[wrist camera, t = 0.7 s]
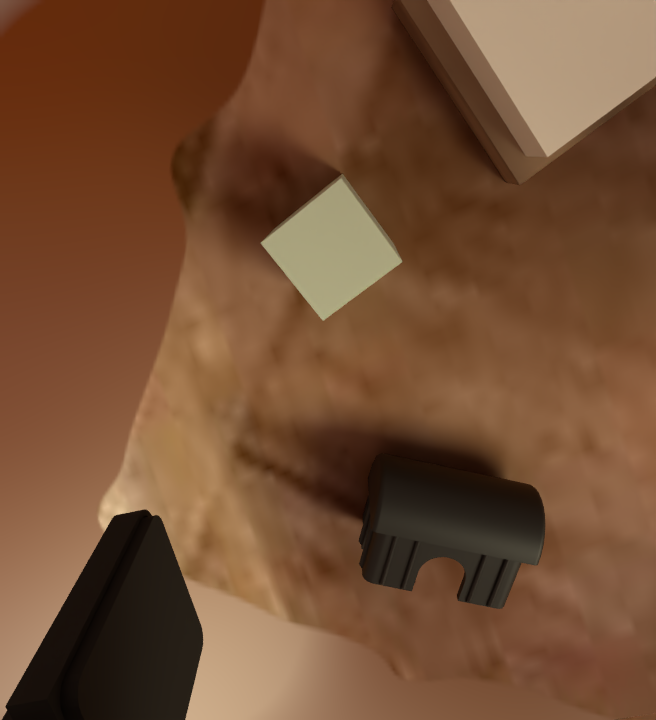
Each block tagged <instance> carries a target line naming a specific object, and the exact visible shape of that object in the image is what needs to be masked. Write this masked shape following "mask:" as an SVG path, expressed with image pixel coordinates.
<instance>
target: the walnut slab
mask: <svg viewBox="0 0 656 720" xmlns="http://www.w3.org/2000/svg"><path fill="white" fill-rule="evenodd" d="M392 9H393V11H394V12H395V14H396V15H397V17H398V18H399V20H400V21H401V23H402V24H403V26H404V27H405V29H406V30H407V32H408V33H409V35H410V37H411V38H412V40H413V41H414V43H415V44H416V46H417V47H418V49H419V50H420V52H421V53H422V55H423V56H424V58H425V60H426V61H427V63H428V64H429V66H430V67H431V69H432V70H433V72H434V73H435V75H436V76H437V78H438V79H439V81H440V82H441V84H442V86H443V87H444V89H445V90H446V92H447V93H448V95H449V96H450V98H451V99H452V101H453V102H454V104H455V105H456V107H457V109H458V110H459V112H460V113H461V115H462V116H463V118H464V119H465V121H466V122H467V124H468V125H469V127H470V128H471V130H472V131H473V133H474V135H475V136H476V138H477V139H478V141H479V142H480V144H481V145H482V147H483V148H484V150H485V151H486V153H487V154H488V156H489V158H490V159H491V161H492V162H493V164H494V165H495V167H496V168H497V170H498V171H499V173H500V174H501V176H502V177H503V179H504V181H505V182H508V183H512V184H517V185H521V184H522V183H524V182H525V181H526V180H528V179H529V178H530V177H532V176H533V175H534V174H536V173H537V172H538V171H540V170H541V169H543V168H544V167H545V166H547V165H548V164H549V163H551V162H552V161H553V160H555V159H556V158H557V157H559V156H560V155H562V154H563V153H564V152H566V151H567V150H568V149H570V148H571V147H572V146H574V145H575V144H576V143H578V142H579V141H581V140H582V139H583V138H585V137H586V136H587V135H589V134H590V133H591V132H593V131H594V130H595V129H597V128H598V127H600V126H601V125H602V124H604V123H605V122H606V121H608V120H609V119H610V118H612V117H613V116H614V115H616V114H617V113H619V112H620V111H621V110H623V109H624V108H625V107H627V106H628V105H629V104H631V103H632V102H633V101H635V100H636V99H638V98H639V97H640V96H642V95H643V94H644V93H646V92H647V91H648V90H650V89H651V88H652V87H654V86H655V85H656V77H655V78H654V79H653V80H651V81H650V82H648V83H647V84H646V85H644V86H643V87H642V88H640V89H639V90H638V91H636V92H635V93H634V94H632V95H631V96H630V97H628V98H627V99H625V100H624V101H623V102H621V103H620V104H619V105H617V106H616V107H615V108H613V109H612V110H611V111H609V112H608V113H607V114H605V115H604V116H603V117H601V118H600V119H598V120H597V121H596V122H594V123H593V124H592V125H590V126H589V127H588V128H586V129H585V130H584V131H582V132H581V133H580V134H578V135H577V136H576V137H574V138H573V139H571V140H570V141H569V142H567V143H566V144H565V145H563V146H562V147H561V148H559V149H558V150H557V151H555V152H554V153H553V154H551V155H550V156H549V157H531V156H525V154H524V153H523V151H522V149H521V148H520V146H519V145H518V143H517V141H516V140H515V138H514V137H513V135H512V134H511V132H510V130H509V129H508V127H507V126H506V124H505V123H504V121H503V119H502V118H501V116H500V115H499V113H498V112H497V110H496V108H495V107H494V105H493V104H492V102H491V100H490V99H489V97H488V96H487V94H486V93H485V91H484V89H483V88H482V86H481V85H480V83H479V82H478V80H477V78H476V77H475V75H474V74H473V72H472V71H471V69H470V67H469V66H468V64H467V63H466V61H465V59H464V58H463V56H462V55H461V53H460V52H459V50H458V48H457V47H456V45H455V44H454V42H453V41H452V39H451V37H450V36H449V34H448V33H447V31H446V30H445V28H444V26H443V25H442V23H441V22H440V20H439V18H438V17H437V15H436V14H435V12H434V11H433V9H432V7H431V6H430V4H429V3H428V1H427V0H394V1H393V5H392Z"/></svg>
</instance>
